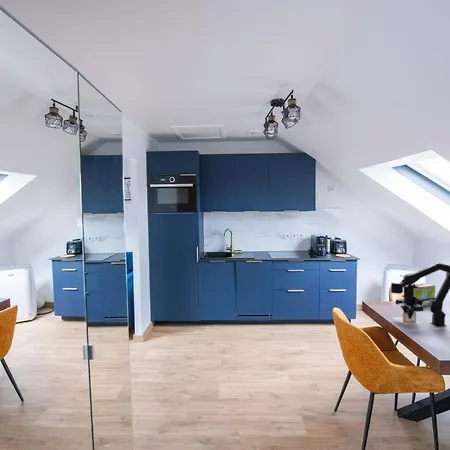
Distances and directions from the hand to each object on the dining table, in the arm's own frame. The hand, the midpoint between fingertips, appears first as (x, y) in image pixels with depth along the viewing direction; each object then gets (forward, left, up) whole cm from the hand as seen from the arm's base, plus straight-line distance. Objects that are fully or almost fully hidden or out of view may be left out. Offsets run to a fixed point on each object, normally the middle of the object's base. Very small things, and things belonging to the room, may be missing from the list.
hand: (408, 318), depth 203 cm
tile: (0, 0, -2) cm, 2 cm away
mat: (+2, 0, -3) cm, 3 cm away
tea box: (+37, -39, -3) cm, 54 cm away
